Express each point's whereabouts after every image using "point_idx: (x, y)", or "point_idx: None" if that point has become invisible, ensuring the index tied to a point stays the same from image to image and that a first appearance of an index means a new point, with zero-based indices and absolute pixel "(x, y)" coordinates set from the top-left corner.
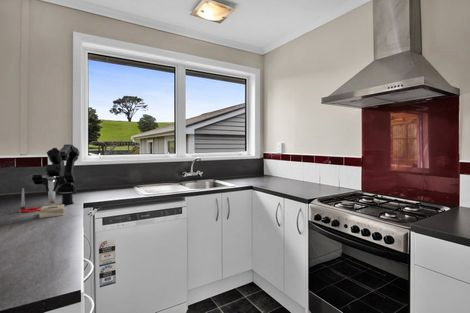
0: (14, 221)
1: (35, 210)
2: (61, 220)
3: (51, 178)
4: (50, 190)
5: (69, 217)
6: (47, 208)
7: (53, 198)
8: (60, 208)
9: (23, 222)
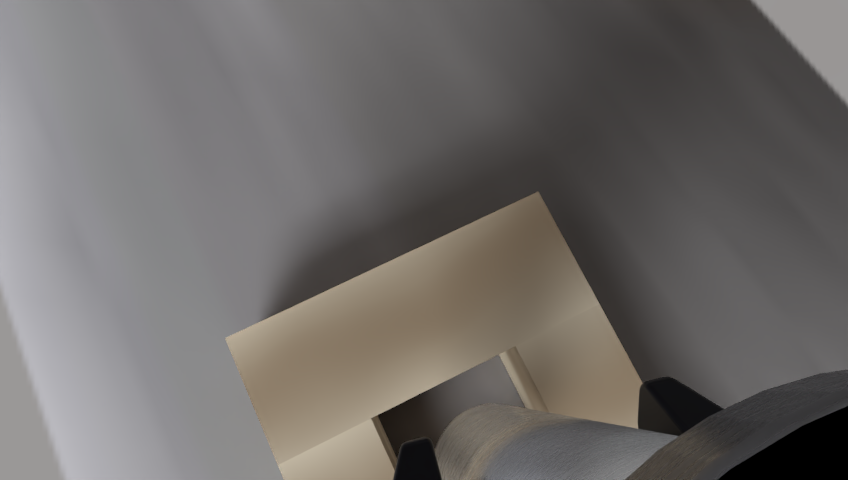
0: (733, 102)
1: None
2: (143, 49)
3: (702, 449)
4: (546, 417)
5: (101, 185)
6: None
7: (452, 441)
8: (274, 335)
9: (579, 37)
